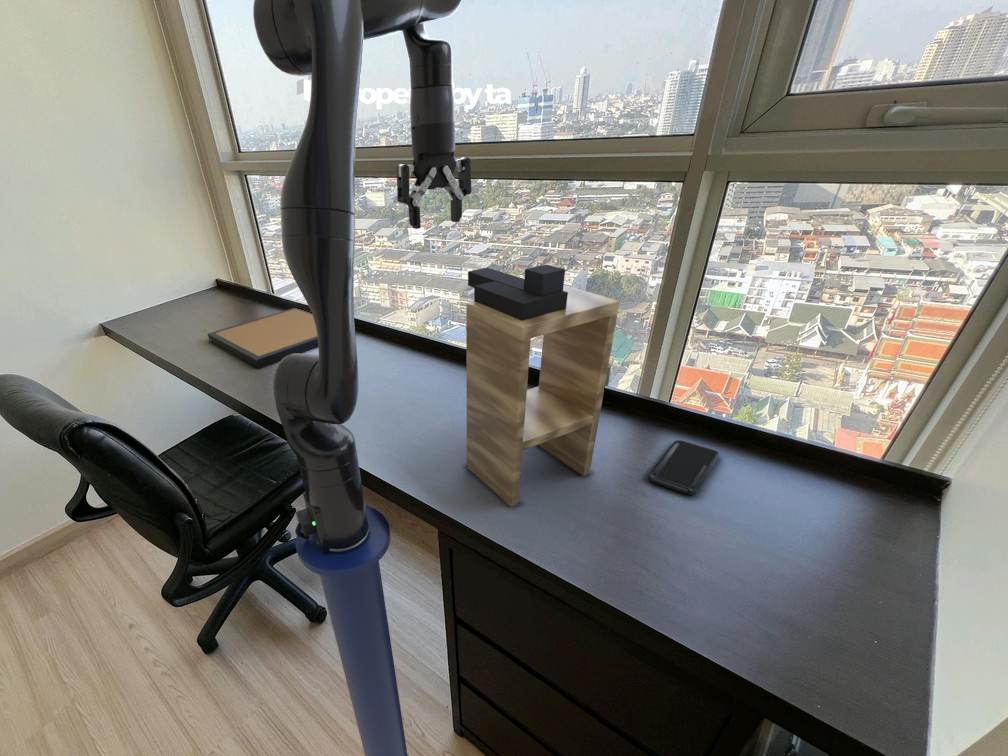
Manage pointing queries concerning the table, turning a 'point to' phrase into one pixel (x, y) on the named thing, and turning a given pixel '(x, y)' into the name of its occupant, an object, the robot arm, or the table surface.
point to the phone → (684, 467)
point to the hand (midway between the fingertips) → (436, 225)
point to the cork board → (269, 337)
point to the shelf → (543, 409)
